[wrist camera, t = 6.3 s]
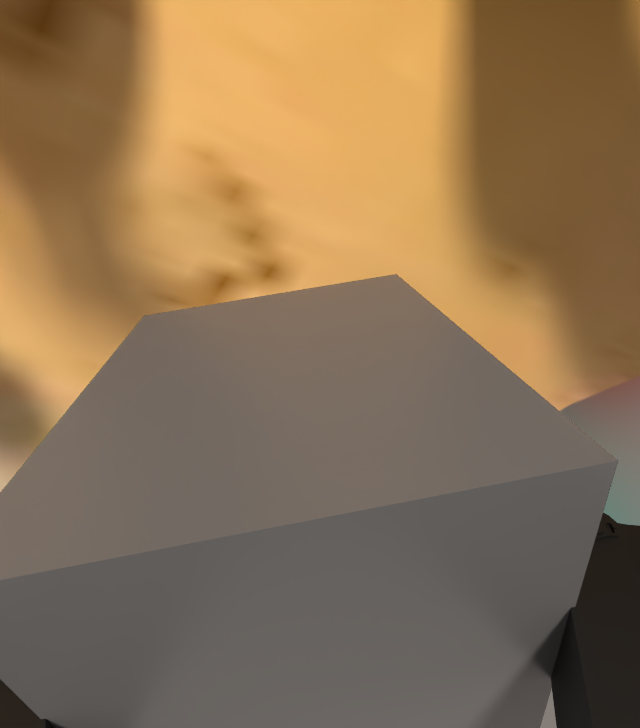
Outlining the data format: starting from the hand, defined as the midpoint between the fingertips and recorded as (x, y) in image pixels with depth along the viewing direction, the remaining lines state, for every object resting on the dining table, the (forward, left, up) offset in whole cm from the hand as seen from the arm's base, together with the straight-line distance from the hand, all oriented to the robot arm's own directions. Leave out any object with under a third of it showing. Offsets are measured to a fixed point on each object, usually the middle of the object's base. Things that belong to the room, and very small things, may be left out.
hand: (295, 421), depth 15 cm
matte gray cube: (0, 0, -1) cm, 1 cm away
